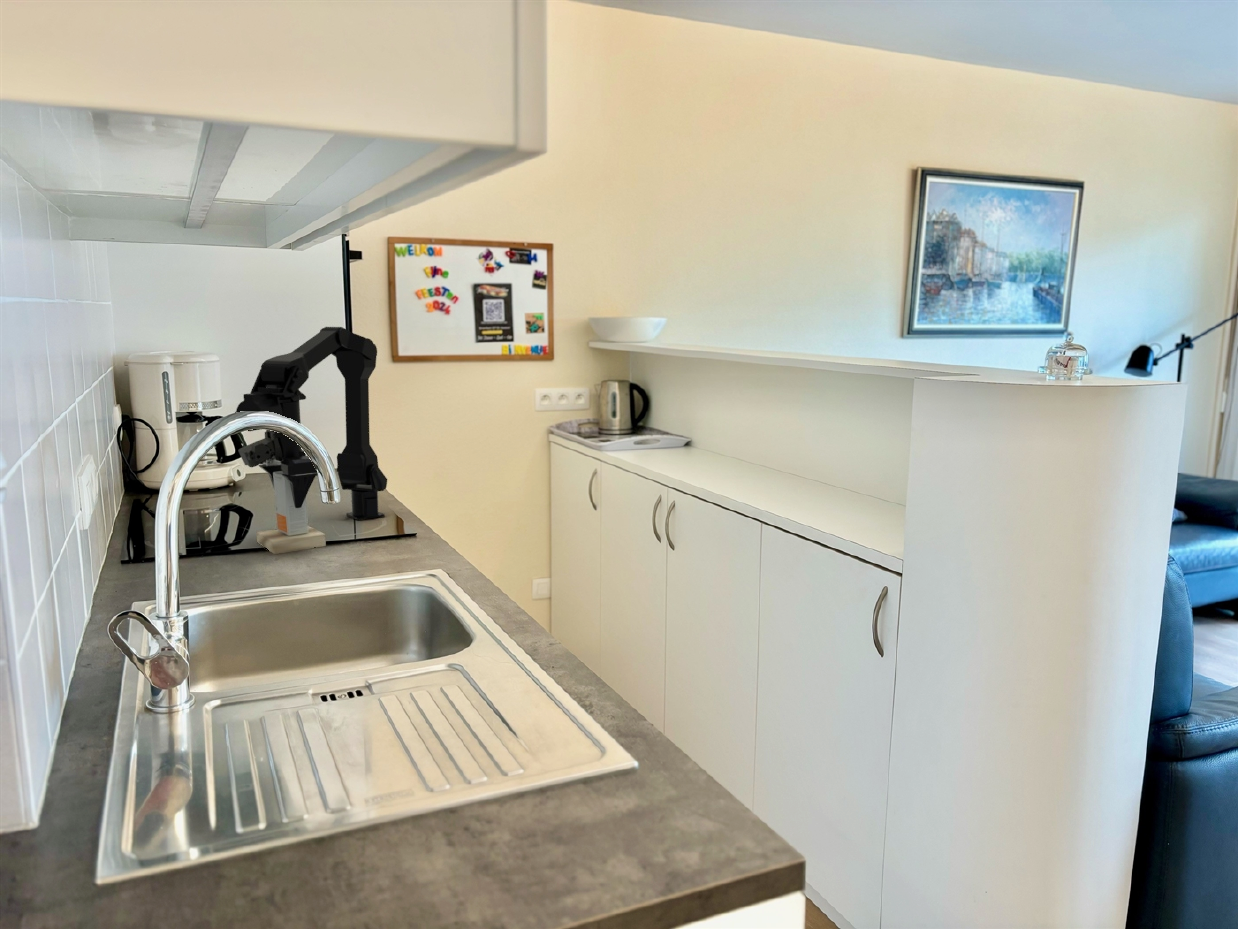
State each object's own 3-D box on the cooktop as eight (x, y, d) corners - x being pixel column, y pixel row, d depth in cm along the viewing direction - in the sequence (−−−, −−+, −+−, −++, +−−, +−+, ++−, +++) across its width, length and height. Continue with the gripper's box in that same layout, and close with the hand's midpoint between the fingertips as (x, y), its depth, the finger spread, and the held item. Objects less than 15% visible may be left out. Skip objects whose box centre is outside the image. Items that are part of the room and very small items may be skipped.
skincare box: (276, 531, 179) (272, 471, 177) (297, 528, 182) (293, 469, 180) (288, 536, 174) (283, 475, 173) (309, 533, 177) (305, 472, 175)
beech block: (257, 546, 179) (256, 531, 178) (307, 539, 185) (306, 524, 185) (274, 557, 171) (273, 542, 171) (325, 549, 177) (325, 534, 177)
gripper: (226, 423, 176) (231, 501, 179) (259, 433, 162) (264, 518, 164) (283, 419, 183) (287, 494, 186) (319, 428, 169) (323, 510, 172)
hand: (289, 503), depth 177 cm, fingers open, 9 cm apart
